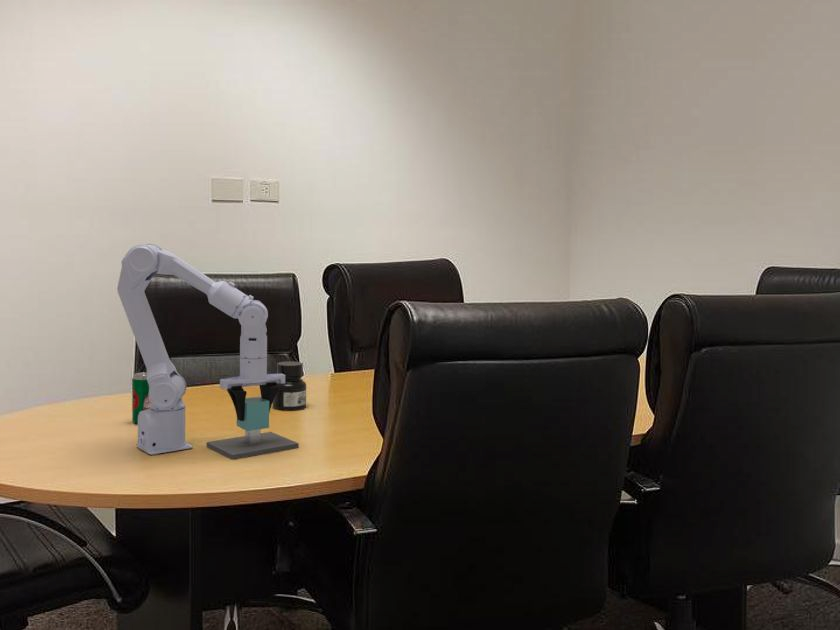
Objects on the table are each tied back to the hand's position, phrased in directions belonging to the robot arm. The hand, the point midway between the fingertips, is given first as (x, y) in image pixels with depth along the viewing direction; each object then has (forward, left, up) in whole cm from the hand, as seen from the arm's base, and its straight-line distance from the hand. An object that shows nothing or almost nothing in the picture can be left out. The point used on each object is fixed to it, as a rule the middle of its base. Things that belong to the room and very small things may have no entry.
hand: (253, 418), depth 171 cm
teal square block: (0, 0, -2) cm, 2 cm away
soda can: (-11, +34, -7) cm, 36 cm away
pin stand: (0, 0, -6) cm, 6 cm away
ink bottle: (+27, +29, -7) cm, 40 cm away
